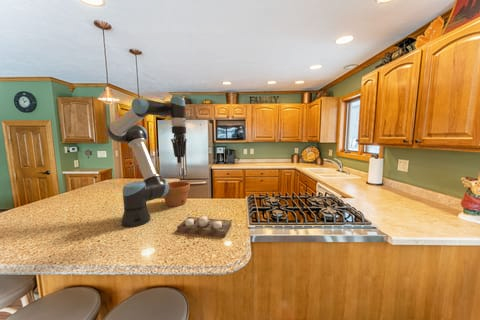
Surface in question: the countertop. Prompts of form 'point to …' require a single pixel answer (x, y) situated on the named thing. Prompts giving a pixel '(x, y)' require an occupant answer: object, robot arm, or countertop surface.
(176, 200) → the flower pot
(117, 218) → the countertop surface
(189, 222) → the button
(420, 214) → the countertop surface
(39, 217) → the countertop surface
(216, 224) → the button
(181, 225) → the board
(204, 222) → the button
